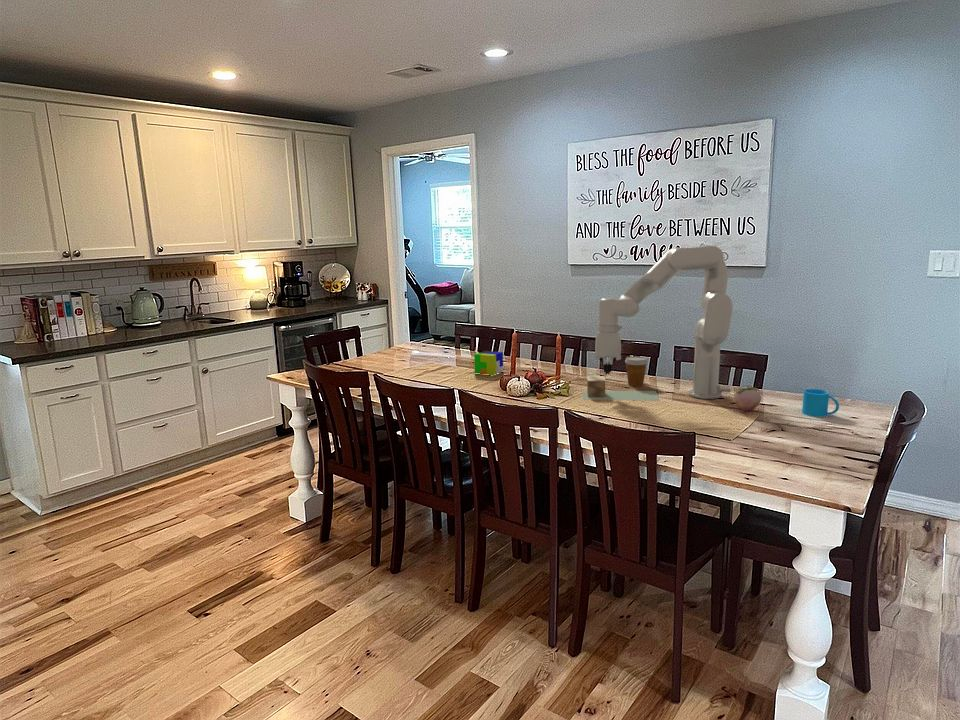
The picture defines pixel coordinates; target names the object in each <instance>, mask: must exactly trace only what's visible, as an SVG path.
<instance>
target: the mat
mask: <svg viewBox="0 0 960 720" xmlns="http://www.w3.org/2000/svg"><path fill="white" fill-rule="evenodd" d="M582 400H584V401H585V400H586V401H587V400H588V401H589V400H590V401H593V400H595V401H649V402H650V401H651V402H652V401H655V402H657V401H659V402H660V401H661V399H660V397H659V395H658V393H657V391H656V390H605V397H588V393H587V389H586V390H582Z"/></svg>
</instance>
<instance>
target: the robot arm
mask: <svg viewBox="0 0 960 720" xmlns="http://www.w3.org/2000/svg"><path fill="white" fill-rule="evenodd" d="M696 270H697V271H700V270H702V271H703V273H704V281H703V289H702V294H701V300H700V307H701V309H702V310H703V312H704V313H705V316H704V317H702V318H700V319H699V320H698V321H697V322H696V324H695V326H694V328H693V329H694V330H693V333H694V335H693V337H694V358H693V359H694V361H693V381H692V383H693V385H692V389H691V390H689V391H688V395H689V396H690V397H692V398H694V399H695V398H696V399H703V400H715V399H719V398H721V397H722V396H723V395H722V394H723V392H725V393H731V389H732V388H731V387H729V386H723V385H720V384H719V377H720V376H719V375H720V358H721V345H722V344H723V343H724V342H725V341H726V339H727V337H728V335H729V331H730V326H731V320H732V314H733V301H732V299H731V297H730V296H729V295H728V294H727V289H728V288H727V287H728V280H729V279H728V277H729V273H728V272H729V271H728V267H727V263H726V262H725V259H724V252H723V250H722V249H721V248H720V247H718V246H716V245H710V244H703V245H700V246H697V247H696V246H695V247H679V246H678V247H672V248H670V249H669V250H668V251H666V253H665V254H664V255H662V256H661V258H659V260H657V262H655V264H654V265H653V266H652V267H651V268H649V270H648V271H647V272H646V273H645V274H643V275H642V276H641V277H640V278H639V279H638V280H637V281H635V282H634V283H633V284H632V285H631V286H630V287H629V288H628V289H627V290H626V291H624V292H623V294H622V295H621V296H620V297H619V299H618V298H615V297H603V298H600V300H599V304H598V305H599V306H598V307H599V308H598V314H599V315H598V331H596V335H595V341H594V342H595V345H594V358H593V359H594V360H596V361H600V362H601V363H603V373H605V375H610V374H611V373H612V365H613V364H614V363H615V362H616V361H620V360H621V359H622V341H621V332H620V331H619V330H622V329H623V328H622V327H623V326H621V325H619V317H622V318H623V317H624V318H632V317H635V316H636V315H637V314H638V313H639V312H640V311H639V310H640V303H642V302H643V301H644V300H645V298H647V297H648V296H650V295H651V294H653V293H655V292H658V291H659V290H660V291H661V289H662V288H664V287H665V286H666V285H667V284H668V283H669V282H670V281H671V279H673V278H674V276H676V275H677V274H678V273H679V272H680V271H696ZM607 358H609V360H608V361H607Z"/></svg>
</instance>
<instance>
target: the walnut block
mask: <svg viewBox="0 0 960 720" xmlns="http://www.w3.org/2000/svg"><path fill="white" fill-rule="evenodd" d="M586 377H587V378H586V379H587V382H586V383H587V386H586V387H587V389H586V390H587V393H588V397H605V391H606V377H605V376H597V375H595V376H592V375H590V376H589V375H587V376H586Z"/></svg>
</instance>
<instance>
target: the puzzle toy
mask: <svg viewBox="0 0 960 720" xmlns="http://www.w3.org/2000/svg"><path fill="white" fill-rule="evenodd" d="M473 355H474V359H473V360H474V362H473V363H474V374H475V373H480V374H489V375H494V374H497V373H499V372H502V371H503V372H504V352H503V351H494V350H492V351H491V350H483V351H481V352H477V353H474V354H473Z"/></svg>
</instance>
